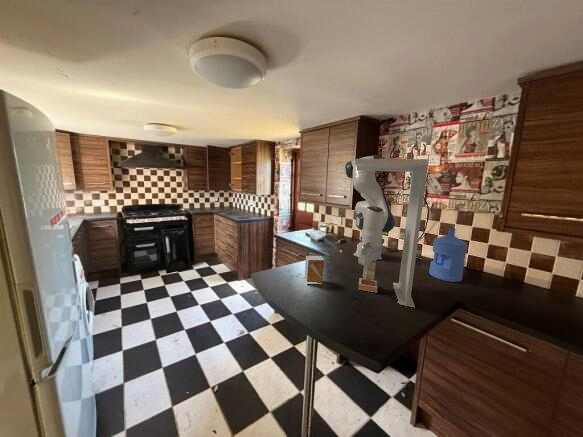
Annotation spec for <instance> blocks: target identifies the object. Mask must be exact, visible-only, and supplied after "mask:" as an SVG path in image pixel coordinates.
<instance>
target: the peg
mask: <svg viewBox="0 0 583 437" xmlns="http://www.w3.org/2000/svg"><path fill="white" fill-rule="evenodd" d="M376 263H377V262H376V261H374V260H373V261H372V262H370V263H369V265H368V268H369V271H367V272H365V271H364V268H363V271H362V278H363V279H365V280H375V273H376V265H377V264H376Z"/></svg>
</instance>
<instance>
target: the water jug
mask: <svg viewBox="0 0 583 437" xmlns="http://www.w3.org/2000/svg"><path fill="white" fill-rule="evenodd" d="M467 250H468V243H467V242H466V241H464V240H462V239H460V238H458V237H457V236H456V228H453V227H449V228H448V231H447V235H443V236H439V237H436V238H434V239H433V242H432V252H433V260H431V261H430V267H429V270H428V271H429V272H428V273H429V274H430V275H431V276H432V277H433V278H434V279H435V278H436V279H438V280H441V281H444V282H448V283H449V282H450V283H457V282H458V283H459V282H461V281H462V280H463V273H464V267H465V265H466V264H465V263H466V262H465V261H466V257H467V256H466V255H467Z"/></svg>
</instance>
